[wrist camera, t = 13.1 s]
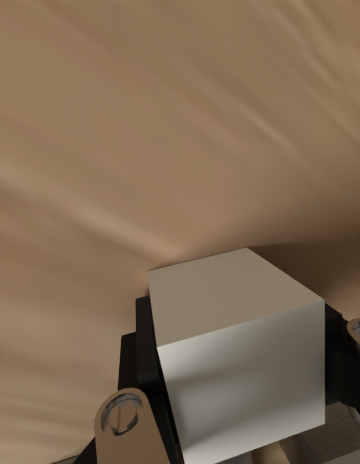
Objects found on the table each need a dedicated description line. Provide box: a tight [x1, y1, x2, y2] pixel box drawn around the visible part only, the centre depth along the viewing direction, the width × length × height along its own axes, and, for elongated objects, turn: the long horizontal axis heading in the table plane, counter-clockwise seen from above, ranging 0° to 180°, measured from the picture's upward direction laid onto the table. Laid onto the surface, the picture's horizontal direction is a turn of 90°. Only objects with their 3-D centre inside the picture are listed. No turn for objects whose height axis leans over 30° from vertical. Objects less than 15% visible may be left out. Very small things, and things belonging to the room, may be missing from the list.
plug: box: [147, 248, 325, 464], centre depth 10 cm, size 4×16×4 cm, turn 10°
